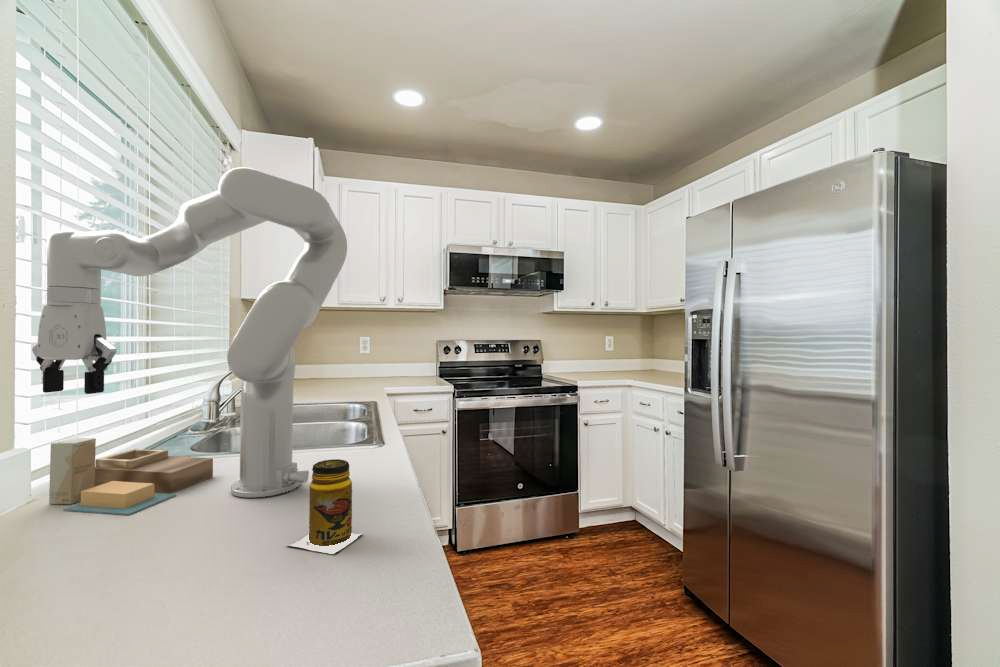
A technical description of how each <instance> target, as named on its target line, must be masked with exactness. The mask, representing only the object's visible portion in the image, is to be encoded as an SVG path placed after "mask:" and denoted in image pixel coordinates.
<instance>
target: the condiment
mask: <svg viewBox="0 0 1000 667" xmlns="http://www.w3.org/2000/svg"><path fill="white" fill-rule="evenodd" d="M311 470H312V474H311V482H310V484H309V508H308V510H309V514H308V516H309V518H308V520H309V522H308V525H309V526H308V528H309V530H308V531H309V532H308V533H309V540H310V543H312V544H314V545H319V546H329V545H335V544H338V543H341V542H344V541H346V540H347V539H349V538H350V536H351V533H352V532H353V525H352V524H353V521H352V519H353V513H352V512H353V504H352V503H353V501H352V500H353V489H352V488H353V486H352V484H353V481H352V479H351V478H350V475H351V474H350V464H349V462H348V461H347V460H344V459H336V458H334V459H324V460H320V461H318V462H315V463H314V464H312V469H311Z"/></svg>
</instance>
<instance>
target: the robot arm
mask: <svg viewBox="0 0 1000 667" xmlns="http://www.w3.org/2000/svg"><path fill="white" fill-rule="evenodd" d="M267 221H268V222H271V223H274V224H277V225H281V226H283V227H286V228H289V229H291V230H293V231H295V233H296V234H298V235H299V236H300V238H302V239H303V241H304V248H303V249H302V252H300V254H299V255H298V256H297V258H296V259H295V261H294V263H293V264H292V267H291V269H290V270H289V272H288V274H287V275H286V277H285V278H284V280H279V281H275V282H273V283H271V284H269V285H268V286H267V287H265V288H264V289H263V290H262V291H261V293H260V294H259V295H258V296H257V298H256V299H255V301H254V302H253V304H252V306H251V307H250V310H249V311H248V313H247V314H246V317H245V318H244V320H243V322H242V323H241V325H240V327H239V328H238V330H237V332H236V333H235V335H234V337H233V339H232V340H231V343H230V345H229V347H228V350H227V355H226V357H227V358H226V361H227V365H228V368H229V370H230V371H231V373H232V374H233V376H236V378H238V379H240V380H241V381H242V383H241V392H240V417H239V418H240V420H239V421H240V422H239V424H240V426H239V428H240V429H239V432H240V433H239V434H240V435H239V437H240V438H239V448H240V449H239V480H237V481H235V482H233V483H232V485H230V493H231V494H232V495H233V496H236V497H239V498H250V499H251V498H265V497H266V496H267V497H271V496H272V497H273V496H277V494H278V495H282V494H285V492H286V493H288V491H289V492H291V491H293V490H295V489H296V487H297V488H299V486H300V484H301V483H302V484H306V483H307V482H308V480H309V474H310V471H309V470H304V469H302V470H301V469H300V470H299V469H298V462H293V422H294V421H293V417H294V416H293V414H294V413H293V411H294V386H295V385H294V384H295V373H296V352H295V348H294V345H295V343H296V341H297V339H298V338H299V336H300V334H301V333H302V331H303V330H304V329H306V328H309V327H310V326H311V325H312V324H313V323H314V321H315V320H316V318H317V316H318V314H319V312H320V310H321V308H322V306H323V304H324V302H325V300H326V299H327V297H328V295H329V293H330V291H331V290H332V287H333V286H334V283H335V282H336V279H337V278H338V275H339V274H340V272H341V270H342V268H343V266H344V264H345V261H346V259H347V258H346V257H347V254H348V240H347V235H346V233H345V230H344V228H343V227H342V224H341V223H340V221H339V220H338V218H337V216H336V214H335V213H334V210H333V209H332V207H331V204H330V203H329V201H328V200H327V199H326V197H324V195H322V194H321V193H320V192H319V191H317V190H315V189H313V188H312V187H309V186H305V185H303V184H300V183H297V182H294V181H292V180H287V179H285V178H282V177H279V176H276V175H273V174H270V173H267V172H264V171H262V170H259V169H255V168H252V167H245V166H244V167H243V166H241V167H233V168H232V169H229V170H227V171H226V172H225V173H224V174H223V175H222V176H221V177H220V180H219V182H218V189H217V190H216V191H213V192H211V193H208V194H204V195H202V196H200V197H197V198H194V199H191V200H188V201H186V202H184V203H183V204H182V205H181V207H180V208H179V213H178V217H177V219H176V220H175V221H174V223H172V224H171V225H169V226H168V227H166V228H164V229H162V230H159V231H158V232H155V233H152V234H150V235H147V236H144V237H141V238H139V237H137V236H134V235H132V234H129V233H125V232H122V231H119V230H109V229H108V230H98V231H96V230H95V231H78V230H71V229H69V230H68V229H67V230H66V229H59V230H57V229H56V230H54V231H51V232H49V234H48V236H47V244H46V245H47V246H46V247H47V248H46V250H47V251H46V256H47V257H46V286H47V287H46V305H43V307H42V310H41V314H40V318H39V319H40V320H39V325H38V333H37V344H35V346H33V347H32V348H31V350H32V352H33V355H34V357H35V359H36V362H37V363H38V365H39V369H40V371H42V392H43V393H47V394H48V393H55V392H56V393H58V392H62V391H63V390H64V384H65V383H64V378H65V375H64V374H65V373H64V370H63V369H61V368H62V366H63V364H64V363H65V361H67V360H68V361H69V360H70V361H72V360H74V361H76V360H77V361H78V360H82V362H83V364H84V366H85V368H86V370H87V371H84V391H83V392H84V393H85V394H86V395H91V394H100V393H101V394H102V393H103V392H105V372H107V370H108V367H109V366H110V365H111V363H112V361H113V358H114V357H115V356H116V353H117V348H116V347H115V346H114V345H112V344H111V343H109V342H108V341H107V328H106V320H105V314H104V310H103V306H102V305H101V304H102V300H101V299H102V291H101V290H102V270H103V271H109V272H114V273H117V274H125V275H128V276H133V277H146V276H147V277H148V276H150V275H154V274H157V273H160V272H163V271H165V270H168V269H170V268H173V267H175V266H177V265H180V264H182V263H184V262H186V261H188V260H189V259H191V258H192V257H194V256H195V255H198V254H199V253H200V252H202V251H203V250H204V249H206V247H208V246H209V245H211V244H213V243H216V242H218V241H220V240H222V239H223V240H224V239H225V238H227V237H230V236H232V235H236V234H237V233H240V232H242V231H245V230H248V229H250V228H252V227H256V226H258V225H261V224H262V223H265V222H267ZM281 493H282V494H281ZM267 497H266V498H267Z"/></svg>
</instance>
